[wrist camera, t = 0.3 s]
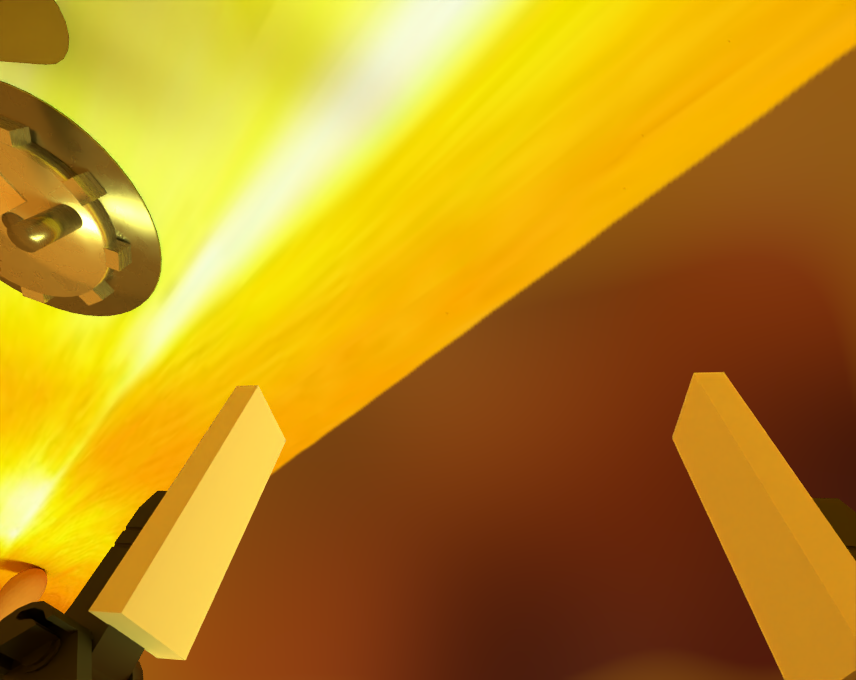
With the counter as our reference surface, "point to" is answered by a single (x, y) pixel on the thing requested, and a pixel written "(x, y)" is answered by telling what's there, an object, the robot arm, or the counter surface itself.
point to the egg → (22, 590)
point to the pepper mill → (32, 32)
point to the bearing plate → (118, 203)
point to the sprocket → (53, 224)
